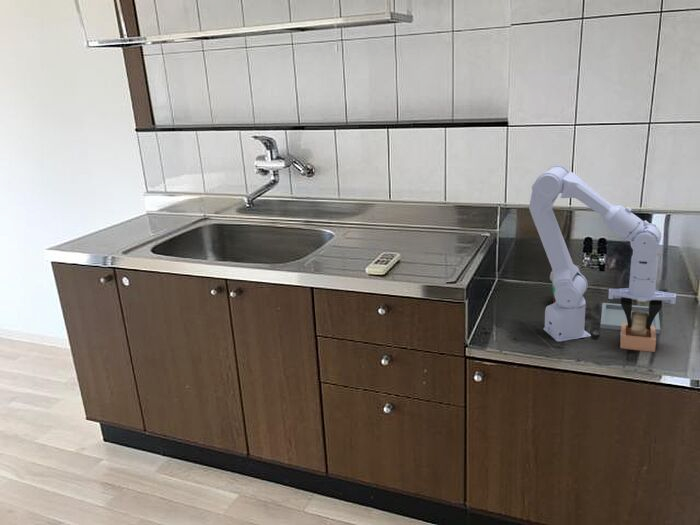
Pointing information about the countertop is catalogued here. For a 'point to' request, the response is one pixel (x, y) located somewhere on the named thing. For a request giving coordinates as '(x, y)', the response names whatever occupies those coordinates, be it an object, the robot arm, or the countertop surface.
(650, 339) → the terracotta square open box
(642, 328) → the beech dowel
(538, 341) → the countertop surface
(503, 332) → the countertop surface
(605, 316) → the slate tray
